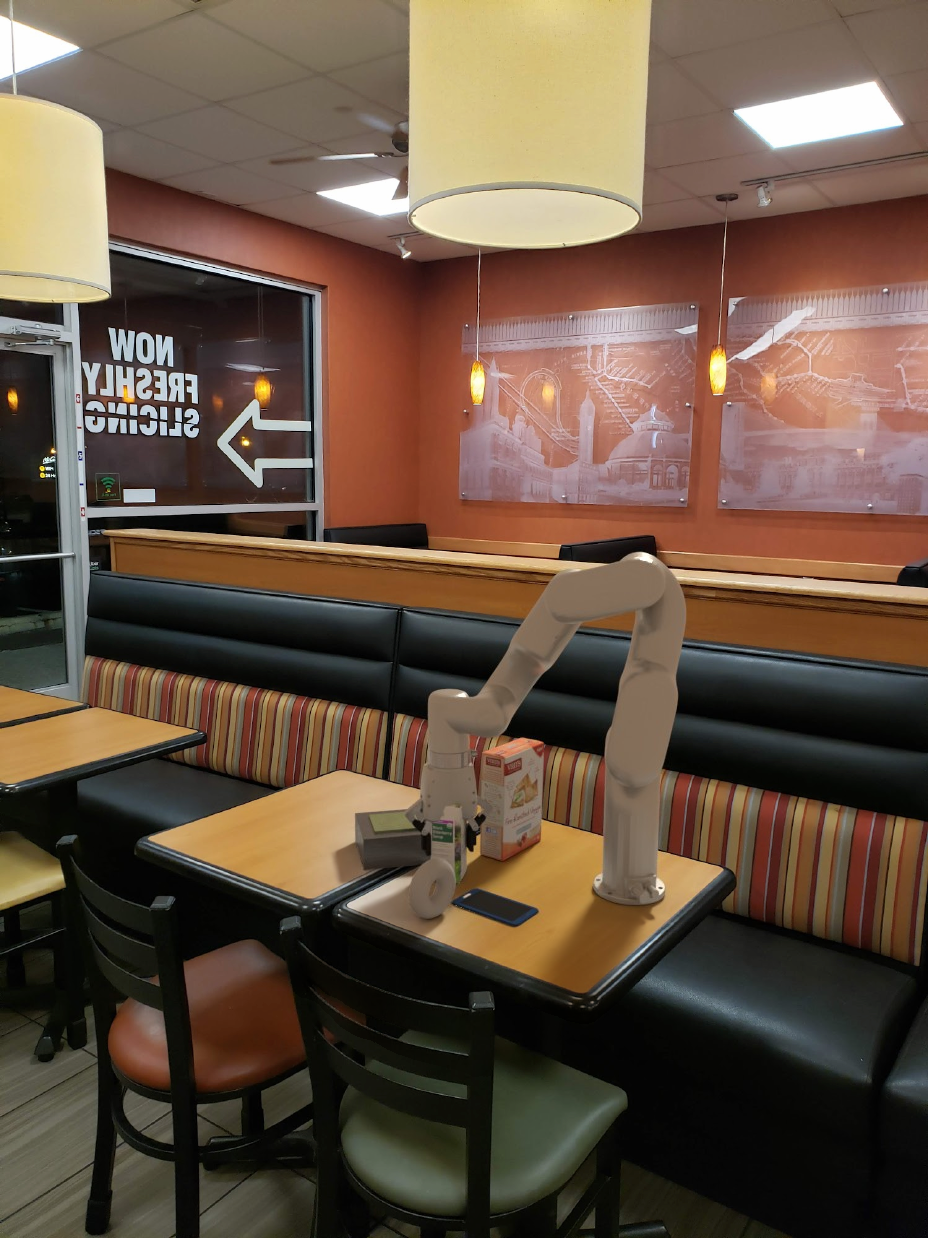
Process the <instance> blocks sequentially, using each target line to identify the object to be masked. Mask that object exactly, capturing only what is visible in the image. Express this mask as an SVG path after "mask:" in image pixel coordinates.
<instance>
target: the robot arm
mask: <svg viewBox="0 0 928 1238" xmlns="http://www.w3.org/2000/svg"><path fill="white" fill-rule="evenodd" d="M632 612H633V613H635V619H634V625H633V627H632V628H633V629H632V634H631V642H630V645H629V649H628V650H629V651H628V654H627V658H626V661H625V665H624V668H623V672H622V673H621V676H620V679H619V682H618V683H619V684H618V694H617V700H616V703H615V708H614V713H613V718H612V723H611V726H610V727H609V729H608V731H607V733H606V737H605V743H604V745H605V746H604V763H605V770H604V771H605V774H604V804H603V805H604V806H603V832H602V833H603V834H602V835H603V836H602V838H603V839H602V843H603V844H602V870H601V871H602V872H601V873H599V874H598V875H596V877H594V879H593V881H592V887H593V890H594V892H595V893H596V894H597V895H598V896H600V897H601V898H602V899H605V900H607V901H609V902H612V903H616V904H618V905H619V904H620V905H626V906H643V905H644V906H645V905H650V904H654V903H656V902H659V901H660V900H662V899H663V898H664V896H665V895H666V885H665V883H664V881H662V879H660V878H659V877H657V876H658V853H659V852H658V851H659V828H660V827H659V825H660V806H661V805H660V802H661V771H662V768H663V766H664V763H665V759H666V756H667V751H668V747H669V743H670V739H671V734H672V731H673V727H674V723H675V718H676V712H677V706H678V700H679V692H678V691H679V690H678V686H677V672H678V667H679V662H680V658H681V653H682V646H683V643H684V642H683V641H684V637H685V636H684V635H685V631H686V625H687V605H686V599H685V595H684V592H683V588H682V587H681V585H680V583H679V580H678V579H677V577H676V575H675V573H673V572H672V571H671V570H670V568H668V566H667V565H665V563H663V562H662V560H660V559H658V558H657V557H656V556H655V555H652V554H649V553H647V552H643V551H636V552H631V553H629V554H627V555H626V556H624V557H622V559H620V560H619V561H615V562H611V563H608V564H602V565H599V566H595V567H591V568H586V569H578V568H565V569H563V570H560V571H559V572H557V573H556V574H555V575H554V576H553V577H552V578H551V580H550V581H549V582H548V584H547V585H546V587H545V589H544V591H543V592H542V593H541V595H540V597H538V599H537V601H536V603H535V604H534V605H533V607H532V608H531V610H530V611H529V613H528V614H527V616H526V617H525V618H524V620H523V622H522V623H521V625H520V626H519V627H518V629H517V631H515V633H514V635H513V637H511V638H512V639H511V640H510V642H509V643H510V644H509V646H508V649H507V650H506V652H505V654H504V655H503V658H502V659H501V661H500V662H499V663H498V665H497V667H496V668H495V670H494V671H493V672H492V674H491V675H490V677H489V678H488V680H487V681H486V683H485V684H484V686H483V687H482V688H481V690H480V691H479V692H478V693H477V695H475V696H469V695H468V693H467V692H466V691H464V690H460V689H456V688H445V689H443V688H442V689H437V690H434V691H432V692H431V693H430V695H429V696H428V700H427V701H428V702H427V749H428V750H427V756H428V757H427V758H428V761H427V762H426V763H424V764H423V766H422V773H421V778H420V791H419V799H417V800H416V801H415V802H414V803H413V804H412V805H410V806H409V807H408V808H406V809H407V810H406V811H405V812H404V814H405V816H406V818H407V819H408V820H409V821H410V822H411V823H412V824H413V826H414V827H415V828H416V829H418V830H419V831H420V832H421V848H422V850H424V851H425V853H426V855H427V856H430V855H431V835H430V833H429V830H430V828H431V827H432V823H433V822H435V821H439V820H440V818H441V816H442V814H443V811H444V808H445V807H446V806H452V805H460V804H462V805H461V806H462V815H463V819H467V850H468V851H469V852H470V853H474V850H475V849H474V848H475V846H477V831H479V828H480V827H481V824H482V823H483V822H484V821H485V820H486V817H487V816H488V815H489V814H490V812H491V811H492V810H493V807H492V806H491V804H489V803H488V802H486V801H485V800H484V799H482V798H481V796H479V795H478V790H477V781H476V773H475V768H474V765H473V762H472V759H474V758H478V750H477V749H471V748H470V745H471V744H470V742H471V741H470V740H471V739H470V738H471V737H470V736H475V737H480V738H488V739H491V738H497V737H499V736H500V735H502V734H503V733H504V732H505V731H507V728H508V726H509V724H511V720H512V718H513V717H514V715H515V714H516V712H517V710H518V709H519V707H520V706H521V704H522V703H523V701H524V700H525V698H526V697H527V695H528V693H529V692H530V691H531V690H532V689H533V686H534V685H535V684H536V683H537V681H538V680H539V679H540V678H541V677H542V675H543V674H544V673H545V672H547V671H548V670H549V669H550V668H551V667H552V666H553V665H554V664H555V663H556V661H557V660H558V658H559V657H560V655H561V653H562V652H563V651H564V649H565V648H566V646H567V645H568V644H569V642H570V641H571V639H572V638H573V637H574V636H575V634H576V632H577V631H578V630H579V628H580V627H581V625H582V623H586V622H593V621H597V620H601V619H606V618H610V617H614V616H619V615H624V614H628V613H632ZM478 807H480V808H481V807H482V810H481V809H480V811H479V812H478ZM419 810H420V812H421V813H423V815H424V818H423V820H422V821H419V820H418V819H417V818H416V817H415V814H416V813H417V812H418V811H419Z"/></svg>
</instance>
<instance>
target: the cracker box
mask: <svg viewBox="0 0 928 1238" xmlns="http://www.w3.org/2000/svg"><path fill="white" fill-rule="evenodd" d="M544 749H545V743H544V742H543V741H540V740H537V739H532V738H531V739H530V738H526V737H520V738H517V739H514V740H511V741H509V742H506V743H504V744H501V745H498V746H496V747H493V748H491V749H488V750H485V751H483V752H481V794H480V797H481V798H482V799H484V800H485V801H486V802H488V803H489V804H491V806H492V807H493V810H492V811H491V812H490V814H489V815H488V816H487V817H486V820H485V821H484V822H483V823H482V824H481V825H480V844H479V849H480V850H479V851H480V852H479V854H480V855H481V856H485V857H488V858H491V859H494V860H497V861H500V862H504V861H505V860H508V859H509V858H511V857H512V856H515V855H516V854H518V853H520V852H522V851H523V850H525V849H527V848H529V847H531V846H532V845H534V844H536V843H539V842H540V841H541V840H542V818H543V817H542V815H543V791H544V790H543V787H544V786H543V782H544V759H545V757H544V756H545V754H544V753H545V750H544ZM481 810H482V807H481V806H480V811H481Z"/></svg>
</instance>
